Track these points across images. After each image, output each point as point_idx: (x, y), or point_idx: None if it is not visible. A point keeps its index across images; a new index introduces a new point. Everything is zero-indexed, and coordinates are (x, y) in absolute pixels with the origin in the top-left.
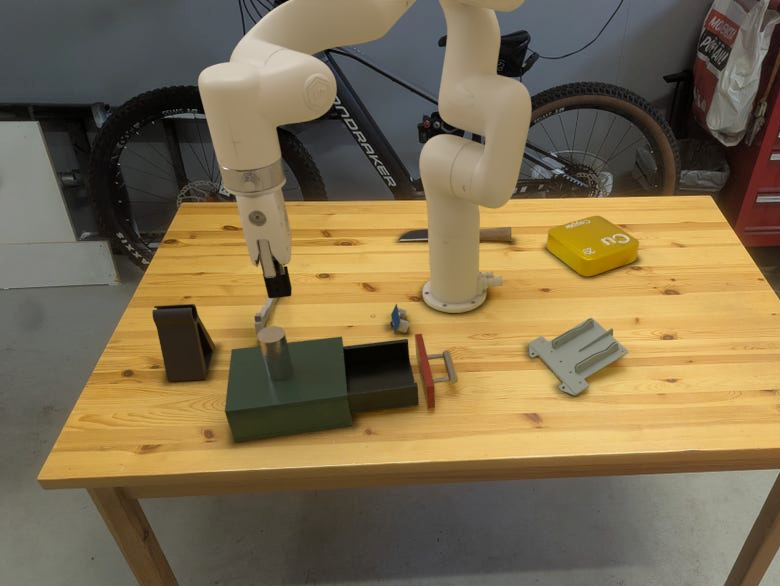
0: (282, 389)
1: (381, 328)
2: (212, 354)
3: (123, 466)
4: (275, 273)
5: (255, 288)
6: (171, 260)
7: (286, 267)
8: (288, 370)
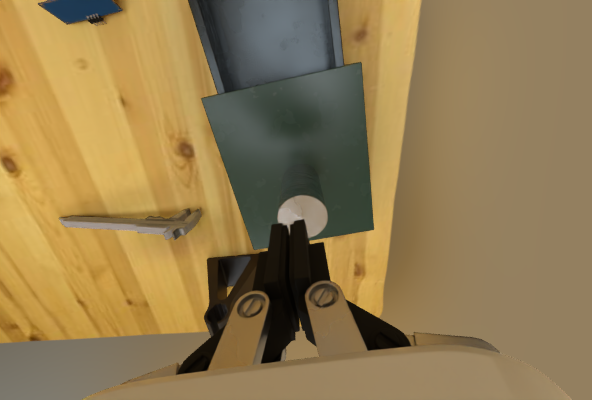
0: (338, 170)
1: (110, 42)
2: (222, 257)
3: (378, 281)
4: (449, 344)
5: (83, 245)
6: (69, 331)
7: (272, 283)
8: (311, 170)
